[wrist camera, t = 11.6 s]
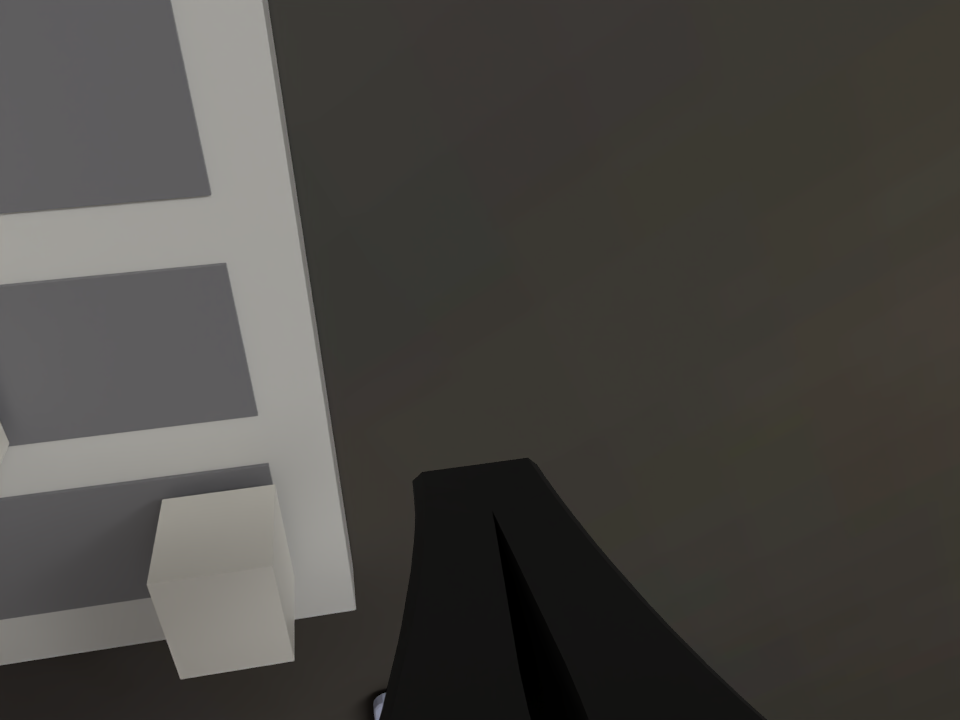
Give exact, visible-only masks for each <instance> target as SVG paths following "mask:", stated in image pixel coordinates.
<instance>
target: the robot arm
mask: <svg viewBox="0 0 960 720" xmlns="http://www.w3.org/2000/svg"><path fill="white" fill-rule="evenodd" d="M413 492H414V504H415V536H414V547H413V556H412V566H411V574H410V579H409V585H408V591H407V597H406V603H405V609H404V614H403V620H402V626H401V631H400V636H399V641H398V645H397V650H396V654H395V658H394V662H393V666H392V670H391V674H390V678H389V682H388V686H387V691H386V692H385V693H382V694H381V695H379V696H377V697H376V699H375V700H374V703H373V708H374V717H375V720H767V719H765V718H764V717H763V716H762V715H761V714H760V713H759V712H758V711H756V710H755V709H754V708H753V707H752V706H751V705H750V704H749V703H748V702H746V701H745V700H744V699H743V698H742V697H741V696H740V695H739V694H738V693H737V692H736V691H735V690H734V689H733V688H731V687H730V686H729V685H728V684H727V683H726V682H725V681H724V680H723V679H722V678H721V677H720V676H719V675H718V674H717V673H716V672H715V671H714V670H713V669H712V668H711V667H710V666H709V665H707V664H706V662H705V661H704V660H703V659H702V658H701V657H700V656H699V655H698V654H697V653H696V652H695V651H694V650H693V649H692V648H691V647H690V646H689V645H688V644H687V643H686V642H685V641H684V640H683V639H682V638H681V637H680V636H679V635H678V634H677V633H676V632H675V631H674V630H673V629H672V628H671V627H670V626H669V625H668V624H667V623H666V622H665V621H664V620H663V618H662V617H661V616H660V615H659V614H658V613H657V612H656V611H655V610H654V609H653V608H652V607H651V606H650V605H649V604H648V602H647V601H646V600H645V599H644V598H643V597H642V596H641V594H640V593H639V592H638V591H637V590H636V589H635V588H634V587H633V585H632V584H631V583H630V582H629V581H628V580H627V579H626V578H625V576H624V575H623V574H622V573H621V572H620V571H619V570H618V569H617V567H616V566H615V565H614V564H613V563H612V562H611V561H610V559H609V558H608V557H607V556H606V555H605V553H604V552H603V551H602V550H601V549H600V547H599V546H598V545H597V544H596V543H595V541H594V540H593V539H592V538H591V536H590V535H589V534H588V533H587V531H586V530H585V529H584V528H583V526H582V525H581V524H580V523H579V521H578V520H577V519H576V518H575V516H574V515H573V514H572V513H571V511H570V510H569V509H568V507H567V506H566V505H565V503H564V502H563V501H562V499H561V498H560V497H559V495H558V494H557V493H556V491H555V490H554V488H553V487H552V486H551V484H550V483H549V481H548V480H547V479H546V477H545V476H544V474H543V473H542V471H541V470H540V468H539V467H538V465H537V464H535V463H534V462H533V461H531V460H530V459H529V458H523V459H516V460H508V461H501V462H494V463H486V464H479V465H471V466H464V467H457V468H449V469H442V470H434V471H427V472H422V473H421V474H420V475H419V476H418V477H416V478H415V479H414V480H413Z"/></svg>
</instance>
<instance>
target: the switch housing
mask: <svg viewBox="0 0 960 720" xmlns="http://www.w3.org/2000/svg"><path fill="white" fill-rule="evenodd" d="M0 423H1V425H2V427H3V430H4V432H5V434H6V436H7V439H8V441H9V446H8V448H7V450H6V452H5V455H4V457H3V459H2V462H1V464H0V665H6V664H12V663H19V662H25V661H32V660H38V659H44V658H51V657H57V656H64V655H70V654H76V653H83V652H89V651H96V650H102V649H109V648H115V647H121V646H128V645H134V644H141V643H147V642H153V641H160V640H166V638H165V635H164V632H163V629H162V626H161V624H160V621H159V618H158V615H157V612H156V610H155V607H154V604H153V601H152V598H151V596H150V593H149V590H148V587H147V580H148V574H149V569H150V563H151V558H152V553H153V547H154V542H155V536H156V531H157V525H158V520H159V515H160V509H161V504H162V499H169V498H177V497H184V496H192V495H199V494H206V493H214V492H221V491H229V490H236V489H244V488H251V487H259V486H266V485H274V484H275V487H276V491H277V496H278V501H279V506H280V511H281V515H282V520H283V525H284V530H285V534H286V539H287V544H288V549H289V553H290V558H291V563H292V568H293V573H294V619H301V618H307V617H314V616H320V615H326V614H333V613H339V612H346V611H352V610H356V602H355V589H354V575H353V564H352V558H351V551H350V544H349V538H348V531H347V524H346V518H345V511H344V504H343V498H342V491H341V485H340V478H339V471H338V465H337V458H336V451H335V445H334V438H333V432H332V425H331V418H330V412H329V405H328V398H327V392H326V385H325V379H324V372H323V365H322V359H321V352H320V345H319V339H318V332H317V325H316V319H315V312H314V306H313V299H312V292H311V286H310V279H309V272H308V266H307V259H306V253H305V246H304V239H303V233H302V226H301V219H300V213H299V206H298V199H297V193H296V186H295V180H294V173H293V166H292V160H291V153H290V146H289V140H288V133H287V127H286V120H285V113H284V107H283V100H282V93H281V87H280V80H279V73H278V67H277V60H276V54H275V47H274V40H273V34H272V27H271V20H270V14H269V7H268V1H267V0H0Z"/></svg>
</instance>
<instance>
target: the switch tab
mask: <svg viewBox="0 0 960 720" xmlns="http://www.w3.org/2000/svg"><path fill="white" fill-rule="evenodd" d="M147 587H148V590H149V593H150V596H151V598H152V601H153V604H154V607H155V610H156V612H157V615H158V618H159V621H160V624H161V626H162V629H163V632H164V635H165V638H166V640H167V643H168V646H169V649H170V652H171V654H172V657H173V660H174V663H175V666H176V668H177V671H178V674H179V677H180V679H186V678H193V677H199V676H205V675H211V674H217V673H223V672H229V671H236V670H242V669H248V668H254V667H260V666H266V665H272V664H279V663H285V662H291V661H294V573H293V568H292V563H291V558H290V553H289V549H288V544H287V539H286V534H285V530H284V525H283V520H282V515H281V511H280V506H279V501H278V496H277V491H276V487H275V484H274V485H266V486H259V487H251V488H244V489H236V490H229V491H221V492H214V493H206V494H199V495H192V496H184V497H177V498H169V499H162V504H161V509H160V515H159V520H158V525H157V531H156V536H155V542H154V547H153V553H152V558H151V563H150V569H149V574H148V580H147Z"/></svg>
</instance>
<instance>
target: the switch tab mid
mask: <svg viewBox="0 0 960 720" xmlns="http://www.w3.org/2000/svg"><path fill="white" fill-rule="evenodd" d="M8 446H9V441H8V439H7V436H6V434H5V432H4V430H3V427H2V425H1V423H0V464H1V462H2V459H3V457H4V455H5V452H6V450H7V448H8Z"/></svg>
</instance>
